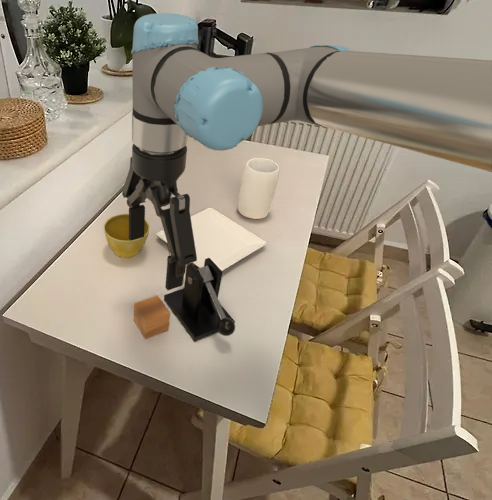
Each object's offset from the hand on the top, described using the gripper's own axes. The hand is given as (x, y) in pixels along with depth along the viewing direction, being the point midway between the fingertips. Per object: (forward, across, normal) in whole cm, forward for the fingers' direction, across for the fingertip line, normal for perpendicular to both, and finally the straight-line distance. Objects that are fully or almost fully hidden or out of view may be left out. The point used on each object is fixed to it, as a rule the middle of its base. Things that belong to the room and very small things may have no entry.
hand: (154, 260), depth 72 cm
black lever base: (+17, -1, -10) cm, 19 cm away
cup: (+17, +22, -41) cm, 49 cm away
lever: (+11, -5, -10) cm, 15 cm away
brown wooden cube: (+17, 0, 0) cm, 17 cm away
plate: (+17, +16, -24) cm, 33 cm away
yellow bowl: (+17, +22, -5) cm, 28 cm away
